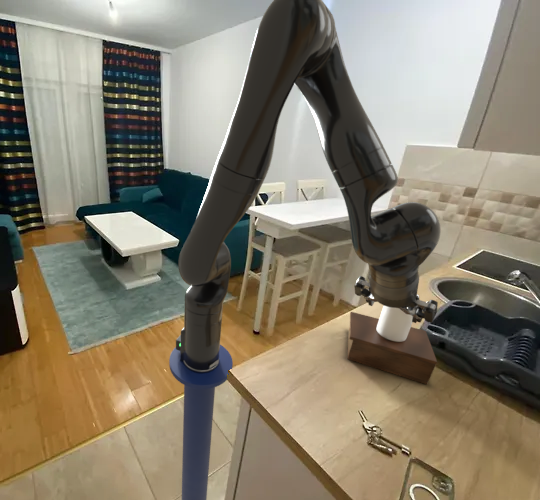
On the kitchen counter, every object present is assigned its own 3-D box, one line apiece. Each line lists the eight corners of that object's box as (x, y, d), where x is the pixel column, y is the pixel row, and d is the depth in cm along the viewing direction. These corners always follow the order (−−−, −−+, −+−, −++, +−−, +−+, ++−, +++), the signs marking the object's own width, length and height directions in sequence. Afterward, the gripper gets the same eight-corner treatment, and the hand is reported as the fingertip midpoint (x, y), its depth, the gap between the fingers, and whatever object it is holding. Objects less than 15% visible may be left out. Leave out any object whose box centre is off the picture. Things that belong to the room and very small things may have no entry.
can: (370, 331, 74) (383, 290, 70) (384, 323, 77) (397, 284, 73) (397, 346, 69) (413, 303, 64) (411, 337, 72) (427, 296, 67)
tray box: (347, 359, 74) (352, 340, 72) (348, 331, 84) (353, 314, 82) (427, 384, 67) (435, 364, 65) (417, 351, 77) (424, 333, 75)
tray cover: (349, 339, 72) (350, 336, 72) (350, 313, 83) (350, 311, 82) (436, 364, 65) (437, 361, 64) (424, 333, 75) (425, 330, 75)
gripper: (449, 277, 49) (439, 309, 61) (360, 252, 59) (365, 284, 71) (432, 315, 48) (425, 340, 60) (344, 283, 58) (352, 310, 69)
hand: (393, 310), depth 65 cm, fingers open, 8 cm apart
